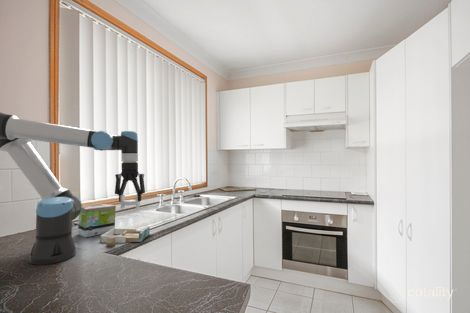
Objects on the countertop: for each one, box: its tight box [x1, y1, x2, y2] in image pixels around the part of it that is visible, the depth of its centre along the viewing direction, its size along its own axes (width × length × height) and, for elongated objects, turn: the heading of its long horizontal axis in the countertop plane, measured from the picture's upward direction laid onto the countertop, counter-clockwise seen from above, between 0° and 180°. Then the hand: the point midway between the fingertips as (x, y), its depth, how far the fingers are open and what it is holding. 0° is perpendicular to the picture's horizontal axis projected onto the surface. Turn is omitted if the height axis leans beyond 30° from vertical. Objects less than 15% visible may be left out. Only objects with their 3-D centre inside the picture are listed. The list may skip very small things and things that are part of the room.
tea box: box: [77, 203, 117, 238], centre depth 130 cm, size 15×10×15 cm, turn 143°
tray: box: [118, 226, 151, 243], centre depth 122 cm, size 13×12×4 cm
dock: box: [99, 227, 137, 244], centre depth 122 cm, size 14×12×3 cm
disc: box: [122, 199, 136, 206], centre depth 120 cm, size 7×7×2 cm
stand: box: [105, 237, 116, 248], centre depth 111 cm, size 4×4×4 cm
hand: (130, 208), depth 120 cm, fingers closed on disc, 7 cm apart
